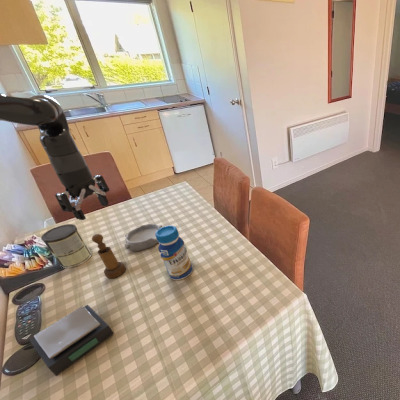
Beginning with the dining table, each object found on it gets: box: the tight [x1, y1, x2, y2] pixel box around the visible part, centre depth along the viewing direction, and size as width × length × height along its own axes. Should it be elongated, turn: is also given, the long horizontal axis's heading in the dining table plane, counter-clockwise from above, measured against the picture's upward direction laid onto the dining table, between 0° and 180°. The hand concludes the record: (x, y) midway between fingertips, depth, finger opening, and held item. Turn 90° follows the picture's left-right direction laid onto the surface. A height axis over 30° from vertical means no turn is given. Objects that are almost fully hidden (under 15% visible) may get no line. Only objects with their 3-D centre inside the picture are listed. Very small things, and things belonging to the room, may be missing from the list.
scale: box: [29, 304, 115, 377], centre depth 77 cm, size 14×14×5 cm
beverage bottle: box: [155, 225, 194, 281], centre depth 97 cm, size 8×8×20 cm
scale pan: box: [33, 305, 101, 359], centre depth 76 cm, size 12×12×1 cm
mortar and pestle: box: [91, 233, 127, 279], centre depth 98 cm, size 7×6×18 cm
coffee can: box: [40, 223, 93, 269], centre depth 105 cm, size 10×10×14 cm
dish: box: [124, 223, 163, 252], centre depth 117 cm, size 14×14×5 cm
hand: (94, 212), depth 88 cm, fingers open, 8 cm apart
